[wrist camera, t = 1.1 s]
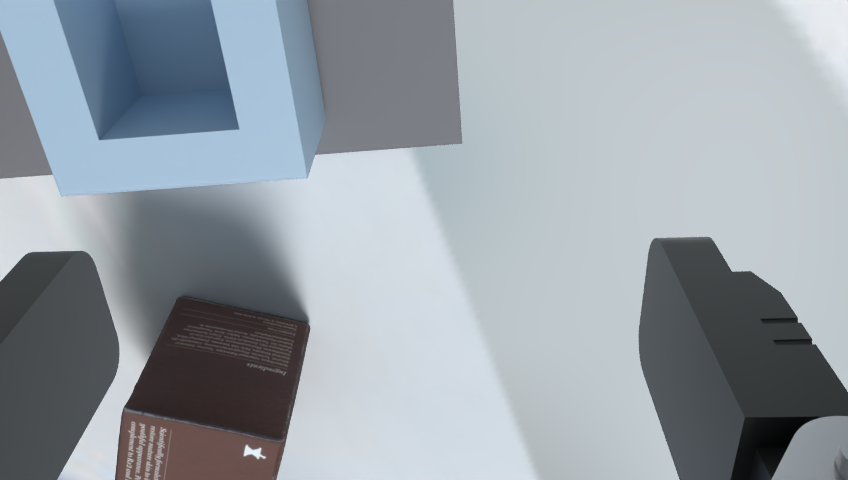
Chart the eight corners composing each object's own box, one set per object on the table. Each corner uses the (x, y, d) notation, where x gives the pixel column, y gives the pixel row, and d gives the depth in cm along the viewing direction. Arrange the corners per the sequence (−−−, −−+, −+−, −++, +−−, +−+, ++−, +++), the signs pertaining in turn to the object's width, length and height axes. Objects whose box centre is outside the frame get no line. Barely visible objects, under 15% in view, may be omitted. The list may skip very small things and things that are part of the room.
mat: (440, -185, 24) (441, -185, 24) (461, 139, 29) (462, 143, 29) (-169, -126, 25) (-178, -125, 24) (-38, 177, 30) (-43, 181, 30)
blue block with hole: (288, -116, 24) (258, -96, 20) (326, 119, 28) (307, 178, 24) (45, -93, 25) (-37, -69, 20) (116, 136, 29) (61, 196, 24)
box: (179, 289, 33) (120, 406, 27) (314, 320, 34) (287, 441, 28) (163, 391, 36) (107, 518, 30) (288, 417, 37) (259, 546, 31)
